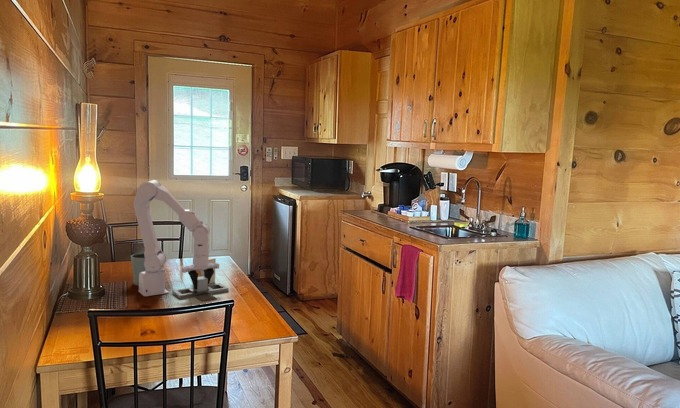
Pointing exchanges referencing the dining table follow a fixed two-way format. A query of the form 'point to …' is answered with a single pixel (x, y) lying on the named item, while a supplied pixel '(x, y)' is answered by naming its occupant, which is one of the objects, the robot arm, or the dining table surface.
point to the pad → (206, 297)
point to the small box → (201, 272)
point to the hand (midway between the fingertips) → (200, 287)
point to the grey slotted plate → (193, 293)
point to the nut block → (202, 284)
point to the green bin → (137, 266)
